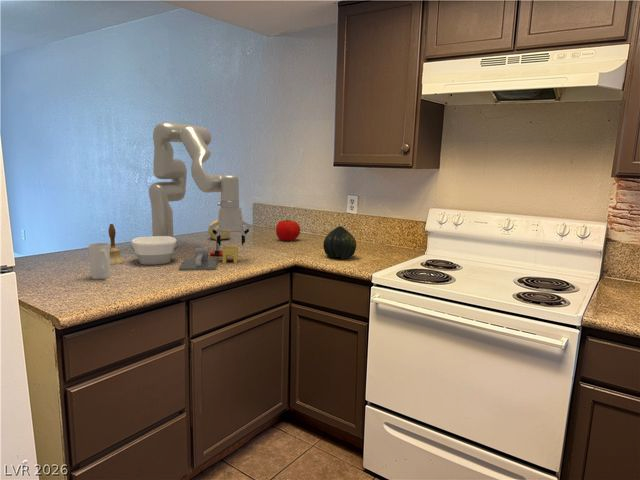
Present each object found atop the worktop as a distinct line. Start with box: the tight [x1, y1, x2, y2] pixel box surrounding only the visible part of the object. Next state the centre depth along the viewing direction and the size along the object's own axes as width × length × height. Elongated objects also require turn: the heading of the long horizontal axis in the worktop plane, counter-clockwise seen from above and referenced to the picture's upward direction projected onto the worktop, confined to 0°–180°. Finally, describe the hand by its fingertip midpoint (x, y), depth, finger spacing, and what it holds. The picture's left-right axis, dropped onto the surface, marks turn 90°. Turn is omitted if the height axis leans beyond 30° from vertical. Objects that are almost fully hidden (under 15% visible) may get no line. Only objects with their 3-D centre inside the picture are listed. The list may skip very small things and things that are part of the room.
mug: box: [88, 242, 111, 280], centre depth 160 cm, size 10×7×12 cm, turn 45°
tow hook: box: [209, 228, 223, 257], centre depth 205 cm, size 8×13×9 cm
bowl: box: [131, 235, 178, 266], centre depth 188 cm, size 18×18×9 cm
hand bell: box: [108, 223, 126, 265], centre depth 184 cm, size 8×8×16 cm
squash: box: [322, 225, 357, 260], centre depth 206 cm, size 14×15×15 cm
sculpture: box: [207, 219, 232, 241], centre depth 244 cm, size 12×12×11 cm
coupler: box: [178, 247, 220, 271], centre depth 184 cm, size 14×18×5 cm
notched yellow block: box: [222, 245, 239, 264], centre depth 193 cm, size 6×8×6 cm
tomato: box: [275, 219, 301, 242], centre depth 246 cm, size 12×13×12 cm
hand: (231, 244), depth 192 cm, fingers open, 9 cm apart
